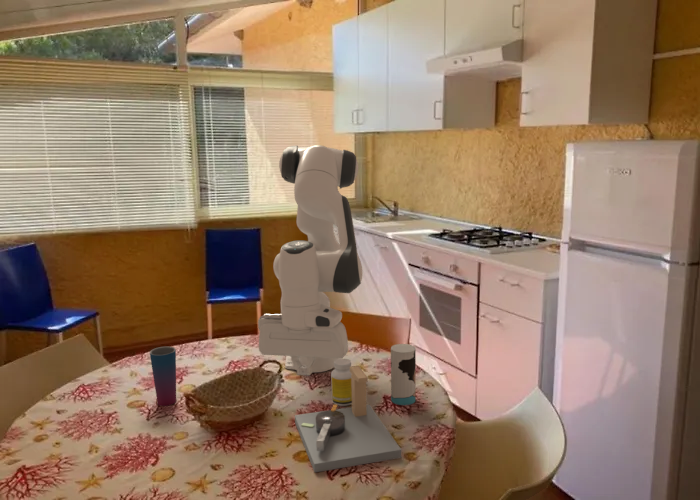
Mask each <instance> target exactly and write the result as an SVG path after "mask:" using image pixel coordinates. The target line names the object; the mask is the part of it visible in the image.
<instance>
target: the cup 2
mask: <svg viewBox="0 0 700 500" xmlns="http://www.w3.org/2000/svg"><path fill="white" fill-rule="evenodd" d="M416 350H417V349H416V346H414V345H412V344H408V343H397V344H393V345H391V347H390V400H391V401H390V402H392V403H393V404H395V405H399V406H410V405H413V404H414V403H415V402H416V389H417V388H416V380H417V379H416V377H417V376H416V370H417V369H416V353H417V352H416Z"/></svg>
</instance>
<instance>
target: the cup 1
mask: <svg viewBox="0 0 700 500" xmlns="http://www.w3.org/2000/svg"><path fill="white" fill-rule="evenodd" d="M176 352H177V351H176V347H173V346H160V347H156V348H153V349H151V350H150V351H149V357H150V363H151V368H152V374H153V376H152V377H153V382H154V383H153V384H154V389H155V390H154V391H155V395H156V402H157V404H158V406H162V407H163V406H165V407H167V406H171V405H174V404H175V403H176V402H177V360H176V359H177V354H176Z"/></svg>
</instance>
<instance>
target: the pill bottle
mask: <svg viewBox="0 0 700 500" xmlns="http://www.w3.org/2000/svg"><path fill="white" fill-rule="evenodd" d="M350 367H352V361H351V359H348V358H343V359H337V360H335V361H334V368H333V370H331V373H330V379H331V401H332V403H333V405H337V406H338V407H339V406H340V407H347V406H350V405H351V406H352V388H351V375H352V374H351V372H350Z"/></svg>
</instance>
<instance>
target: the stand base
mask: <svg viewBox="0 0 700 500" xmlns="http://www.w3.org/2000/svg"><path fill="white" fill-rule="evenodd" d="M350 372H351V374H352V375H351V388H352V404H351V406H350V407H344V408H337V409H336V411H339V412H341V413H343V414H344V416H345V431H344V432H343V433H342V434H340V435H337V436H330V437H329V439H328V442H327V444H326V447H325V449H324V451H317V445H316V440H317V438H318V436H319V434H318V433H317V432H316V415H317V414H319V413H320V412H323V411H324V410H322V411H317V412H316V411H315V412H308V413H301V414H295V415H294V423H295V426H296V429H297V431H298V434H299V436H300V440H301V442H302V444H303V446H304V449H305V451H306V455H307V458H308V459H309V462H310V465H311V466H312V470H313V473H318V472H319V473H320V472H325V471H331V470H337V469H344V468H349V467H354V466H361V465H367V464H372V463H377V462H378V463H379V462H384V461H391V460H395V459H396V460H397V459H400V458H402V448H401V447H400V446H399V444H398V443H397V441H396V440H395V438H394V437H393V436H392V434H391V433H390V431H389V430H388V429H387V427H386V425H384V423H383V421H382V420H381V419H380V417H379V415H377V413H376V412H375V410H374V409H373V407H372V406H371V405H370V404H367V383H368V381H369V380H368V378H369V377H368V376H367V374H366V373H365V372H364V370H362V368H361V366H360V365H353V366H352V365H351V367H350ZM329 410H330V409H327V411H329Z"/></svg>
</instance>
